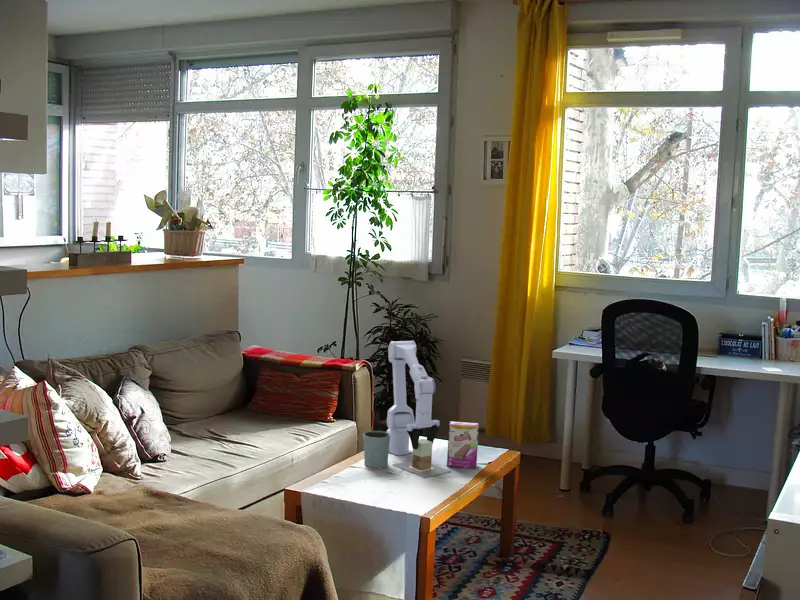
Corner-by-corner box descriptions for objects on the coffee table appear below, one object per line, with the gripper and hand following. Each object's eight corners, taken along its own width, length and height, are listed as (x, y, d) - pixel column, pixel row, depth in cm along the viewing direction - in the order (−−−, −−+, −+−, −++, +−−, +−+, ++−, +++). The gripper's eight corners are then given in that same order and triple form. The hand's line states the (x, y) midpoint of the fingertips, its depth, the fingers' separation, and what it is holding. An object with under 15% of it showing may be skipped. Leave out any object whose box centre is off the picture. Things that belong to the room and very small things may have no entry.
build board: (392, 465, 318) (392, 464, 318) (418, 459, 326) (418, 458, 326) (424, 478, 304) (424, 477, 304) (450, 471, 313) (451, 470, 313)
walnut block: (412, 467, 315) (412, 453, 315) (422, 464, 319) (422, 451, 318) (421, 470, 312) (421, 457, 311) (431, 468, 315) (431, 455, 314)
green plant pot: (380, 471, 310) (381, 439, 309) (356, 466, 315) (357, 434, 314) (394, 464, 319) (395, 433, 318) (371, 459, 324) (372, 428, 323)
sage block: (412, 453, 315) (413, 440, 314) (422, 451, 318) (423, 438, 318) (421, 457, 311) (422, 443, 311) (431, 455, 314) (432, 441, 314)
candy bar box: (446, 467, 318) (448, 424, 317) (447, 463, 323) (449, 420, 322) (476, 469, 317) (478, 426, 316) (476, 465, 322) (478, 422, 321)
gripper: (416, 415, 305) (414, 452, 307) (445, 410, 315) (444, 446, 316) (403, 411, 311) (401, 448, 312) (432, 407, 320) (431, 442, 321)
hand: (422, 447), depth 314 cm, fingers open, 7 cm apart
